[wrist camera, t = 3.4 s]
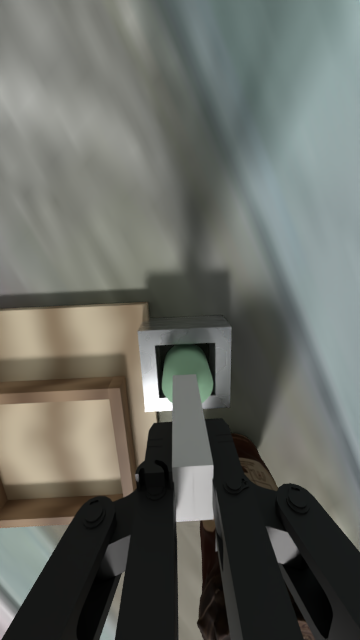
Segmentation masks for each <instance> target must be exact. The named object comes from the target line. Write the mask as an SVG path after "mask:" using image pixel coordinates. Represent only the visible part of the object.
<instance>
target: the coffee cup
mask: <svg viewBox="0 0 360 640" xmlns="http://www.w3.org/2000/svg"><path fill="white" fill-rule="evenodd" d="M231 435H232V438H233V442H234V445H235V448H236V451H237V454H238V457H239V460H240V463H241V466H242V469H243V471H244V474H245V475H246V476H247V478H248V479H249V480H250V481H252V482H253V483H254V484H256V485H258V486H260V487H263V488H267V489H271V490H274V491H277V490H278V487H277V485H276V482H275V481H274V479H273V477H272V475H271V473H270V472H269V470H268V468H267V466H266V465H265V463H264V462H263V460H262V459H261V457H260V455H259V453H258V451H257V448H256V447H255V445H254V444H253V443H252V442H251V441H250V440H249V439H248V438H247V437H245V436H243V435H240V434H234V433H231ZM200 537H201V551H202V579H203V583H202V595H201V597H200V605H199V619H198V622H197V625H198V628H199V629H200V632H201V633H202V637H203V639H204V640H231V638H230V631H229V625H228V618H227V611H226V604H225V597H224V591H223V584H222V577H221V570H220V564H219V557H218V551H216V526H215V520H214V519H212V520H200ZM284 582H285V581H284ZM285 585H286V588H287V591H288V594H289V597H290V600H291V603H292V606H293V608H294V611H295V614H296V617H297V620H298V623H299V626H300V629H301V632H302V635H303V638H304V640H315V638H314V636H313V634H312V632H311V630H310V628H309V627H308V625H307V623H306V621H305V619H304V617H303V615H302V613H301V611H300V609H299V607H298V605H297V604H296V602H295V600H294V598H293V596H292V594H291V592H290V590H289V588H288V586H287V584H286V583H285Z"/></svg>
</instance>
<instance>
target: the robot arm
mask: <svg viewBox="0 0 360 640" xmlns="http://www.w3.org/2000/svg"><path fill="white" fill-rule="evenodd" d="M135 478H136V486H137V488H136V489H135V491H133V492H132V493H131V494H129V495H127V496H126V497H123V498H121V499H119V500H116V501H114V502H112V500H111V499H110V498H108V497H106V496H97V497H94V498H91V499H89V500H88V501H87V502H85V503H84V504H83V505H82V506H81V507H80V509H79V510H78V511H77V513H76V514H75V516H74V518H73V519H72V521H71V523H70V525H69V526H68V528H67V530H66V531H65V533H64V535H63V536H62V538H61V540H60V541H59V543H58V545H57V547H56V548H55V550H54V552H53V553H52V555H51V557H50V558H49V560H48V562H47V563H46V565H45V567H44V569H43V570H42V572H41V574H40V575H39V577H38V579H37V580H36V582H35V584H34V585H33V587H32V589H31V590H30V592H29V594H28V596H27V597H26V599H25V601H24V602H23V604H22V606H21V607H20V609H19V611H18V612H17V614H16V616H15V618H14V619H13V621H12V623H11V624H10V626H9V628H8V629H7V631H6V633H5V634H4V636H3V638H2V640H99V639H100V636H101V633H102V630H103V627H104V624H105V621H106V618H107V615H108V612H109V609H110V606H111V603H112V601H113V598H114V595H115V592H116V589H117V586H118V583H119V580H120V577H121V574H122V572H124V571H125V576H124V583H123V589H122V596H121V603H120V609H119V616H118V623H117V629H116V636H115V640H178V578H177V534H176V522H181V521H197V520H212V519H214V520H215V526H216V551H218V557H219V564H220V570H221V577H222V584H223V591H224V597H225V604H226V611H227V618H228V625H229V631H230V638H231V640H304V638H303V635H302V632H301V629H300V626H299V623H298V620H297V617H296V614H295V611H294V608H293V606H292V603H291V600H290V597H289V594H288V591H287V588H286V585H285V583H286V584H287V586H288V588H289V590H290V592H291V594H292V596H293V598H294V600H295V602H296V604H297V605H298V607H299V609H300V611H301V613H302V615H303V617H304V619H305V621H306V623H307V625H308V627H309V628H310V630H311V632H312V634H313V636H314V638H315V640H360V552H359V551H358V550H357V548H356V547H355V546H354V545H353V543H352V542H351V541H350V540H349V539H348V537H347V536H346V535H345V534H344V533H343V531H342V530H341V529H340V528H339V527H338V525H337V524H336V523H335V522H334V521H333V519H332V518H331V517H330V516H329V515H328V513H327V512H326V511H325V510H324V508H323V507H322V506H321V505H320V504H319V502H318V501H317V500H316V499H315V498H314V496H313V495H311V494H310V493H309V492H308V491H307V490H306V489H304V488H302V487H301V486H299V485H295V484H291V483H289V484H283V485H282V486H280V487H279V488H278V490H277V491H274V490H271V489H267V488H263V487H260V486H258V485H256V484H254V483H253V482H252V481H250V480H249V479H248V478H247V476H246V475H245V474H244V471H243V469H242V466H241V463H240V460H239V457H238V454H237V451H236V448H235V445H234V442H233V438H232V435H231V432H230V429H229V426H228V424H227V423H226V422H225V421H224V420H223V419H222V418H220V419H204V413H203V408H202V403H201V398H200V392H199V387H198V382H197V377H196V374H189V375H173V390H172V422H161V423H153V425H152V426H151V428H150V429H149V432H148V441H147V448H146V454H145V461H143V462H142V463H141V464H140V465H139V466H138V467H137V470H136V473H135ZM284 581H285V582H284Z"/></svg>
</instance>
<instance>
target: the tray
mask: <svg viewBox="0 0 360 640" xmlns="http://www.w3.org/2000/svg"><path fill="white" fill-rule="evenodd" d="M148 321H149V308H148V302H135V303H113V304H92V305H71V306H49V307H28V308H6V309H0V528H10V527H29V526H48V525H67V524H70V523H71V521H72V519H73V518H74V516H75V514H76V513H77V511H78V510H79V509H80V507H81V506H82V505H83V504H84V503H85V502H87V501H88V500H89V499H91V498H94V497H97V496H106V497H108V498H110V499H111V500H112V502H114V501H116V500H119V499H121V498H123V497H126V496H127V495H129V494H131V493H132V492H133V491H135V489H136V488H137V486H136V478H135V473H136V470H137V467H138V466H139V465H140V464H141V463H142V462H143V461H145V454H146V448H147V441H148V432H149V429H150V428H151V426H152V425H153V423H158V416H157V411H150V412H145V402H144V392H143V382H142V372H141V362H140V352H139V342H138V329H139V327H140V325H141V323H142V322H148Z"/></svg>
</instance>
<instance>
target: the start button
mask: <svg viewBox="0 0 360 640" xmlns="http://www.w3.org/2000/svg"><path fill="white" fill-rule="evenodd" d="M189 374H196V377H197V382H198V387H199V392H200V398H201V403H203V402H204V401H205V400H207V398H208V397H209V396H210V394H211V392H212V389H213V379H212V375H211V372H210V369H209V365H208V362H207V359H206V356H205V354H204V352H203V351H202V349H201V348H199V347H198V346H196V345H194V344H177V345H175V346H173V347H172V348H171V349H170V350H169V351H168V352H167V354H166V356H165V360H164V368H163V378H162V390H163V393H164V395H165V397H166V398H167V399H168V400H169V401H170V402H171V403H172V390H173V375H189Z"/></svg>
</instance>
